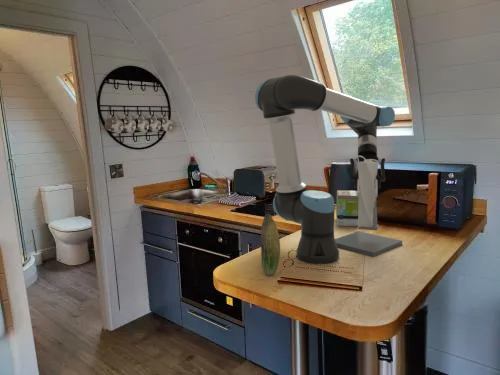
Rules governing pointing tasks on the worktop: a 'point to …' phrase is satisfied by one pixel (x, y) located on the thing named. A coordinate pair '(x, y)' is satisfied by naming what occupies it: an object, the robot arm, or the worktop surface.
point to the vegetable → (269, 245)
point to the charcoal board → (367, 243)
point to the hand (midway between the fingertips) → (367, 195)
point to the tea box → (347, 208)
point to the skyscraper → (367, 194)
